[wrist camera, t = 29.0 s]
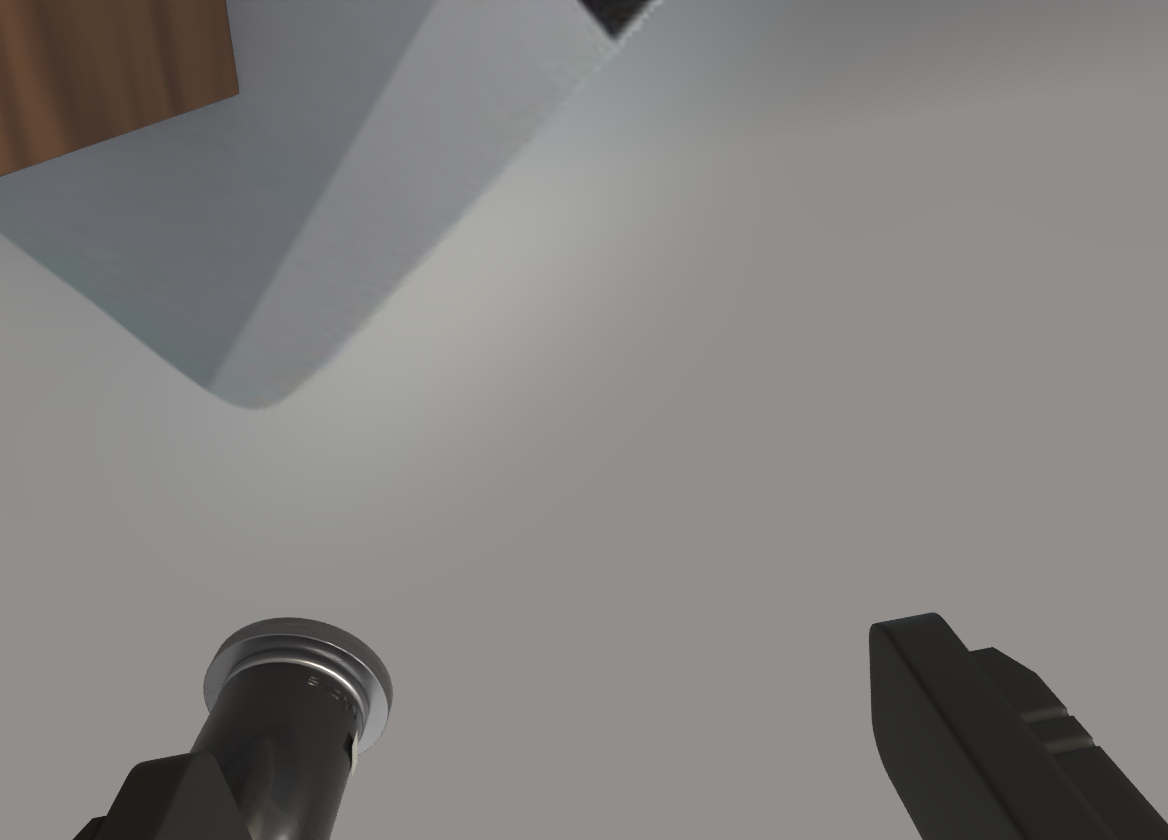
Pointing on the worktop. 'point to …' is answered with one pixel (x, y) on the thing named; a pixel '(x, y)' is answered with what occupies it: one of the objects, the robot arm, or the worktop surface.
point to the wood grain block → (104, 70)
